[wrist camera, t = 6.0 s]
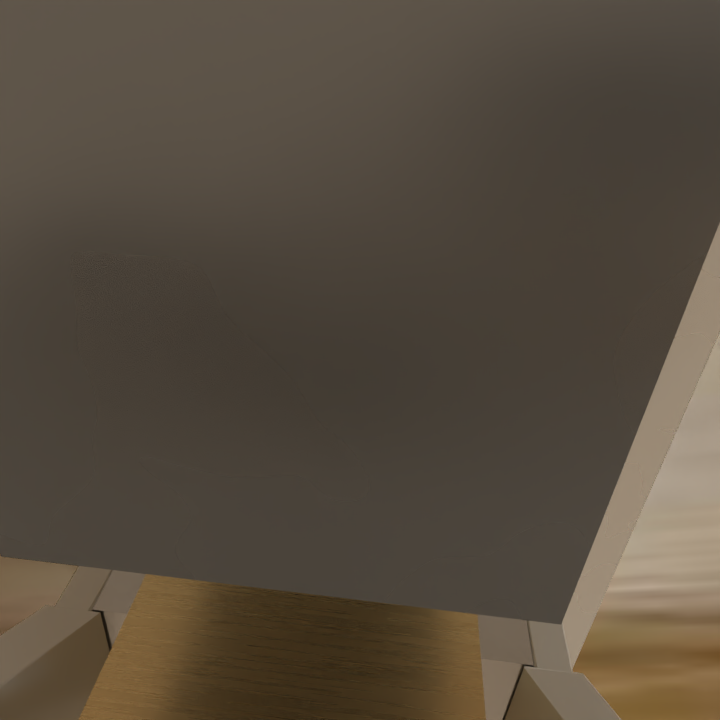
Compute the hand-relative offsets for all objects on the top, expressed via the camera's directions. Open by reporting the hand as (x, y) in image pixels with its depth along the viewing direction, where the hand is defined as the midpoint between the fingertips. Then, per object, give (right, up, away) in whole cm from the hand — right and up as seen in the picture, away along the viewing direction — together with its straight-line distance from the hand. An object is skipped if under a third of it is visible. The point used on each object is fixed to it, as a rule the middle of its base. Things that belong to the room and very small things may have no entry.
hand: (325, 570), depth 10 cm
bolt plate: (+1, +3, +5) cm, 6 cm away
